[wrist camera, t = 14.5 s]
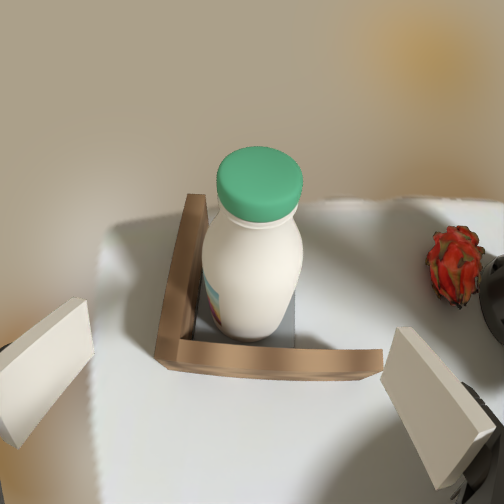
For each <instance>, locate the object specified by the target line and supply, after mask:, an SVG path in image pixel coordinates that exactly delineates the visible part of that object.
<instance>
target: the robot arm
mask: <svg viewBox="0 0 504 504" xmlns="http://www.w3.org/2000/svg"><path fill="white" fill-rule="evenodd" d="M479 286H480V292H479V294H480V302H481V307H482V311H483V314H484V317H485V320H486V322H487V324H488V326H489V328H490V330H491V332H492V333H493V335H494V336H495V337H496V339H497V340H498V341H499V342H500V343H501V344H502V345H504V255H501V256H498V257H497V258H495V259H494V260H493V261H492V262H490V263H489V264H488V265H487V266H486V267H485V268H484V270H483V272H482V274H481V282H480V284H479ZM94 354H95V353H94V347H93V341H92V335H91V329H90V322H89V315H88V307H87V300H86V299H80V298H75V297H72V298H71V299H69V300H68V301H67V302H65V303H64V304H63V305H61V306H60V307H58V308H57V309H56V310H54V311H53V312H52V313H50V314H49V315H48V316H46V317H45V318H44V319H42V320H41V321H40V322H39V323H37V324H36V325H34V326H33V327H32V328H31V329H29V330H28V331H27V332H25V333H24V334H23V335H22V336H20V337H19V338H18V339H17V340H15V341H14V342H12V343H10V344H7V345H5V346H3V347H2V348H0V436H1V437H2V439H3V441H5V442H6V443H8V444H10V445H11V446H13V447H15V448H17V449H19V448H20V447H21V446H22V444H23V443H24V442H25V440H26V439H27V438H28V436H29V435H30V434H31V432H32V431H33V430H34V428H35V427H36V426H37V425H38V423H39V422H40V421H41V419H42V418H43V417H44V415H45V414H46V413H47V412H48V410H49V409H50V408H51V407H52V405H53V404H54V403H55V401H56V400H57V399H58V397H59V396H60V395H61V394H62V393H63V391H64V390H65V389H66V388H67V387H68V385H69V384H70V383H71V382H72V380H73V379H74V378H75V377H76V376H77V374H78V373H79V372H80V371H81V369H82V368H83V367H84V366H85V365H86V363H87V362H88V361H89V360H90V359H91V358H92V356H93V355H94ZM380 380H381V382H382V384H383V386H384V388H385V390H386V392H387V393H388V395H389V397H390V399H391V401H392V403H393V405H394V407H395V409H396V411H397V412H398V414H399V416H400V418H401V420H402V422H403V424H404V426H405V428H406V430H407V432H408V434H409V436H410V438H411V440H412V442H413V444H414V446H415V448H416V450H417V452H418V454H419V456H420V458H421V460H422V462H423V464H424V466H425V468H426V471H427V473H428V475H429V477H430V479H431V481H432V483H433V485H434V488H435V490H439V489H443V488H446V487H449V486H451V485H454V484H455V483H456V481H457V480H458V479H459V478H460V477H461V475H462V474H464V476H465V478H466V480H465V482H464V483H463V484H462V485H461V486H460V487H459V489H458V490H457V491H456V492H455V493H454V494H453V495H452V497H451V500H453V499H454V498H455V497H456V496H457V495H458V494H459V496H458V499H457V502H456V504H504V426H503V425H502V423H501V422H500V421H499V420H498V418H497V417H496V416H495V415H494V413H493V412H492V411H491V410H490V409H489V407H488V406H487V405H486V406H485V403H484V401H483V400H482V399H480V397H479V395H478V394H477V393H476V392H475V391H474V390H473V388H471V387H470V386H468V385H467V384H465V383H464V382H460V381H459V380H458V379H457V378H456V376H455V375H454V374H453V373H452V372H451V371H450V369H449V368H448V367H447V366H446V365H445V364H444V363H443V361H442V360H441V359H440V358H439V357H438V356H437V355H436V353H435V352H434V351H433V350H432V349H431V348H430V347H429V346H428V344H427V343H426V342H425V341H424V340H423V339H422V338H421V337H420V336H419V335H418V333H417V332H416V331H415V330H414V329H413V328H412V327H397V328H396V331H395V335H394V338H393V342H392V345H391V348H390V351H389V355H388V358H387V361H386V364H385V367H384V370H383V373H382V376H381V378H380ZM0 504H5V503H4V498H3V493H2V488H1V482H0Z"/></svg>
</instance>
